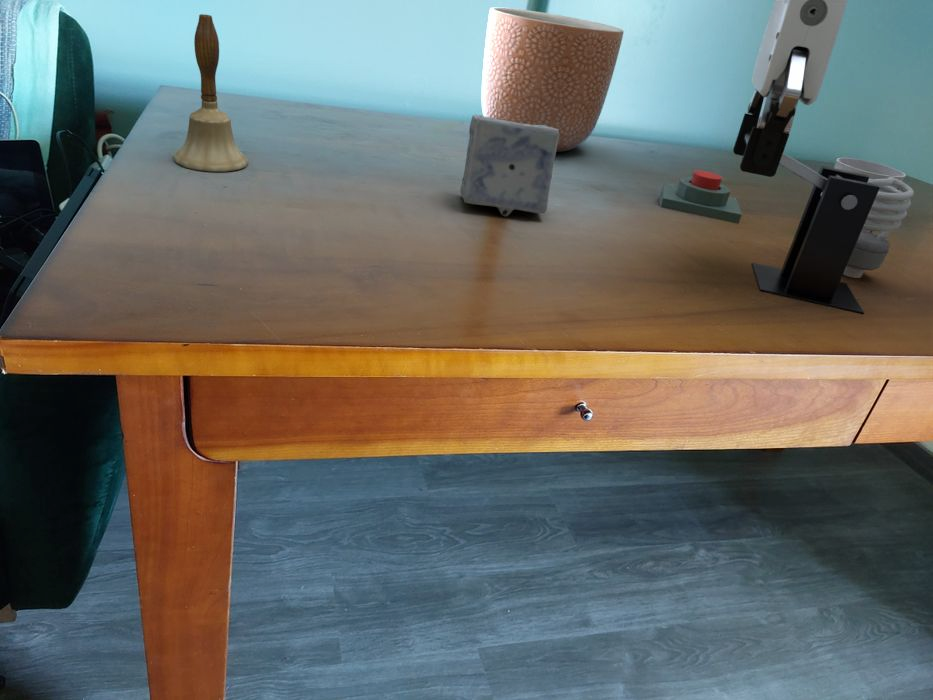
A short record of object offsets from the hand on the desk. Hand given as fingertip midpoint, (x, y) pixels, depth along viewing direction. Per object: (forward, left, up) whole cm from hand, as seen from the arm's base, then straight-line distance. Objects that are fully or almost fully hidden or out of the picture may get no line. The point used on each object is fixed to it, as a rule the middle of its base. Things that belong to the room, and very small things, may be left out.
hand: (752, 163), depth 71 cm
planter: (+27, -46, -12) cm, 55 cm away
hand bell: (+59, -1, -12) cm, 60 cm away
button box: (+1, -24, -12) cm, 27 cm away
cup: (-18, -25, -12) cm, 33 cm away
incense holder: (+25, -8, -12) cm, 29 cm away
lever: (-4, 0, -1) cm, 4 cm away
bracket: (-9, 0, -12) cm, 15 cm away
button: (+1, -24, -9) cm, 25 cm away
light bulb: (-15, -9, -12) cm, 21 cm away
